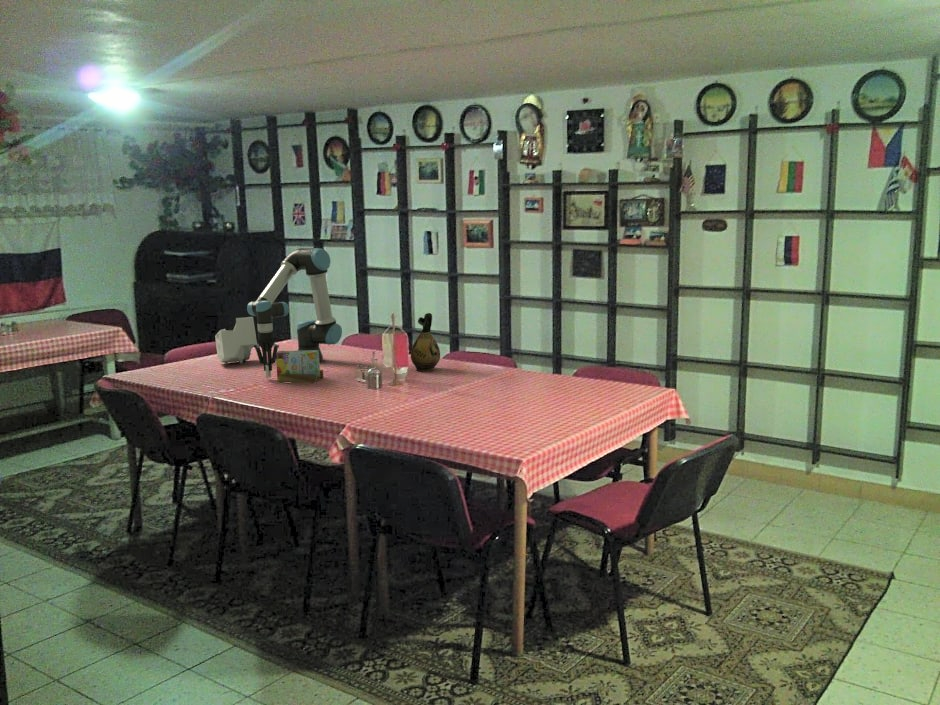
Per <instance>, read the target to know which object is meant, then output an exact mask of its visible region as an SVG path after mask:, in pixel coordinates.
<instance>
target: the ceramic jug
mask: <svg viewBox="0 0 940 705" xmlns="http://www.w3.org/2000/svg"><path fill="white" fill-rule="evenodd" d="M432 322H433V314H432V313H430V312H427V313H425V314H424V317H422V316H421V317H419V318H418V319H417V323H418V324H419V325H420V326H422V330H421V332H420V334H419V335H418V337H416V339H415V341H414V343H412V348H411V350H410V351H411V352H410V360H411V362H412V364H413V366H414V367H415V369H416V371H417V372H421V373H422V372H432V371H434V370H435V368H436V366H437V365H438V364H439V362H440V359H441V351H440V347H439V344H438V342H437V341H436V339H435V337H434V336H433V334H432V333H431V327H432Z"/></svg>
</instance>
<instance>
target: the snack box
mask: <svg viewBox="0 0 940 705" xmlns="http://www.w3.org/2000/svg"><path fill="white" fill-rule="evenodd" d="M320 363H321V362H319V350H305V351H298V350H277V352H276V361H275V364H276V376H277V378H276V379H277V382H280V375H281V374H316V382H319V380H321V379H320V370H321V366H320V365H321V364H320Z"/></svg>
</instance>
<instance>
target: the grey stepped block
mask: <svg viewBox="0 0 940 705" xmlns="http://www.w3.org/2000/svg"><path fill="white" fill-rule="evenodd" d="M214 339H215V346H216V354H217V358H218V359H219V361H220V363H224V364H225V363H226V364H225V365H229V364H230V363H238V362H237V361H240V362H239V364H240V365H242V364H244V363H245V362H246V361H248V360H250V359H251V355H252V349H253V348H254V345H256V344H258V340H257V339H258V338H257V334H256V326H255V320H254V316H247V317H236V318H235V325H234V327H233V330H230V329H229V330H226V328H224V329H220V330H219V331H218V332H217V333H216V334H215V338H214Z"/></svg>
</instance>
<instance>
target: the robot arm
mask: <svg viewBox="0 0 940 705" xmlns="http://www.w3.org/2000/svg"><path fill="white" fill-rule="evenodd" d="M330 266H331V257H330V254H329V253H328V252H327V250H325V249H324V248H318V247H310V248H309V247H306V248H303V247H301V248H297V249H294V250H293V251H292V252H290V253H289V254H288V255H287V256H286V257H285V258H284V259H283V260H282V261H281V262H280V267H279V268H278V270H277V271H276V273H275V274H274V275H273V277H272V278H271V279H270V281H269V282H268V284H267V285H266V286H265V288H264V289H263V291H262V292H261V293H260V295H259V296H258V297H257V299H256V300H253V301H250V302H248V304H247V306H246V307H247V308H246V310H247V313H248V315H250V316H251V317H256V321H257V322H256V323H257V324H256V325H257V336H258V338H257V339H258V340H257V344H256V345H254V347H253V348H254V349H255V351H256V354H257V358H258V361H259V363H260V364H261V365H263V371H264V372H265V378H267V379H269V378H271V377H272V371H273V364H276V352H278V349H279V347H280V344H277V343H276V342H275V340H274V339H275V338H274V332H273V331H274V324H273V319H276V318H283V317H285V316H288V314H289V312H290V306H289V305H288V303H287V302H285V301H278V302H275V300H276V299H277V297H278V296H279V295H280V293H281V292H282V291H283V290H284V288H285V286H286V285H287V284H288V282H289V280H291V278H292V277H293V276H294V275H297V273H298V272H299V271H303V270H305V274H306V276H308V277H309V281H310V287H311V291H312V294H311V295H312V297H313V298H312V299H313V304H314V312H315V315H316V319H310V320H304V321H299V322H297V325H296V332H297V333H296V335H297V336H296V337H297V346H298V348H297V351H305V350H319V363H321V362H323V361H324V356H323V354H322V351H321V348H320V345H328V346H329V345H336V344H338V343H339V341H340V340H341V338H342V336H343V335H342V333H343V328H342V326H341V325H340V324H339V323H337V320H336V318H335V317H334V316H333V313H332V307H331V300H330V294H329V289H328V283H327V278H326V274H328V272H329V271H328V269H330ZM272 348H273V350H272ZM320 361H321V362H320Z"/></svg>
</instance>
